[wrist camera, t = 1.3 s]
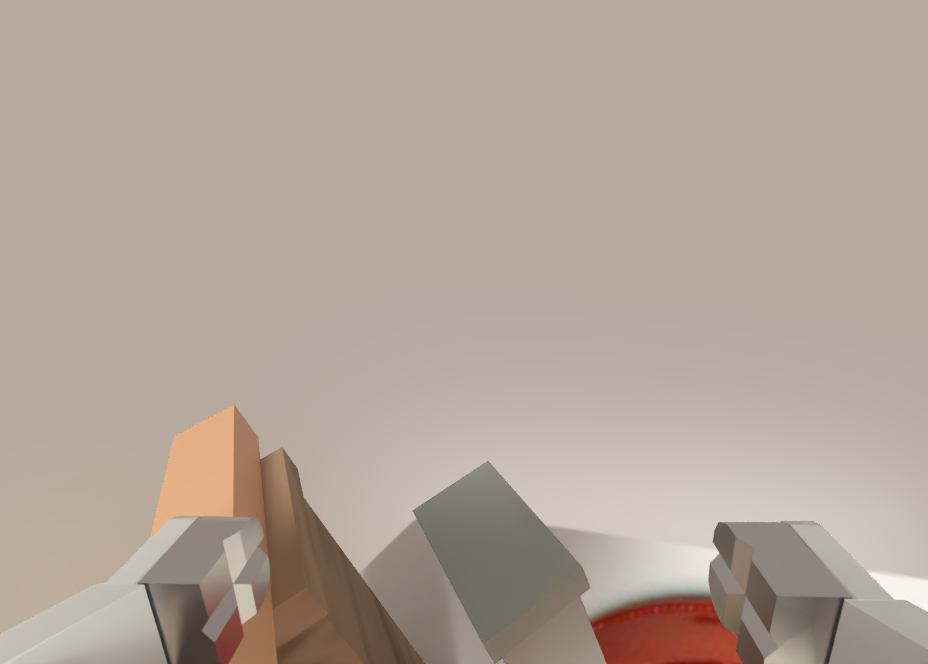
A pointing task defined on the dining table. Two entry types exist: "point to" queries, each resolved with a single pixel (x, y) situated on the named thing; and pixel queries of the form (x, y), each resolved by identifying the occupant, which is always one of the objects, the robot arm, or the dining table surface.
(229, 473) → the bar
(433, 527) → the low stand
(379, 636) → the tall stand
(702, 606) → the dining table surface
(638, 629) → the dining table surface
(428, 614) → the dining table surface
